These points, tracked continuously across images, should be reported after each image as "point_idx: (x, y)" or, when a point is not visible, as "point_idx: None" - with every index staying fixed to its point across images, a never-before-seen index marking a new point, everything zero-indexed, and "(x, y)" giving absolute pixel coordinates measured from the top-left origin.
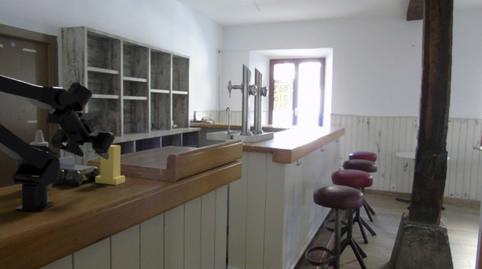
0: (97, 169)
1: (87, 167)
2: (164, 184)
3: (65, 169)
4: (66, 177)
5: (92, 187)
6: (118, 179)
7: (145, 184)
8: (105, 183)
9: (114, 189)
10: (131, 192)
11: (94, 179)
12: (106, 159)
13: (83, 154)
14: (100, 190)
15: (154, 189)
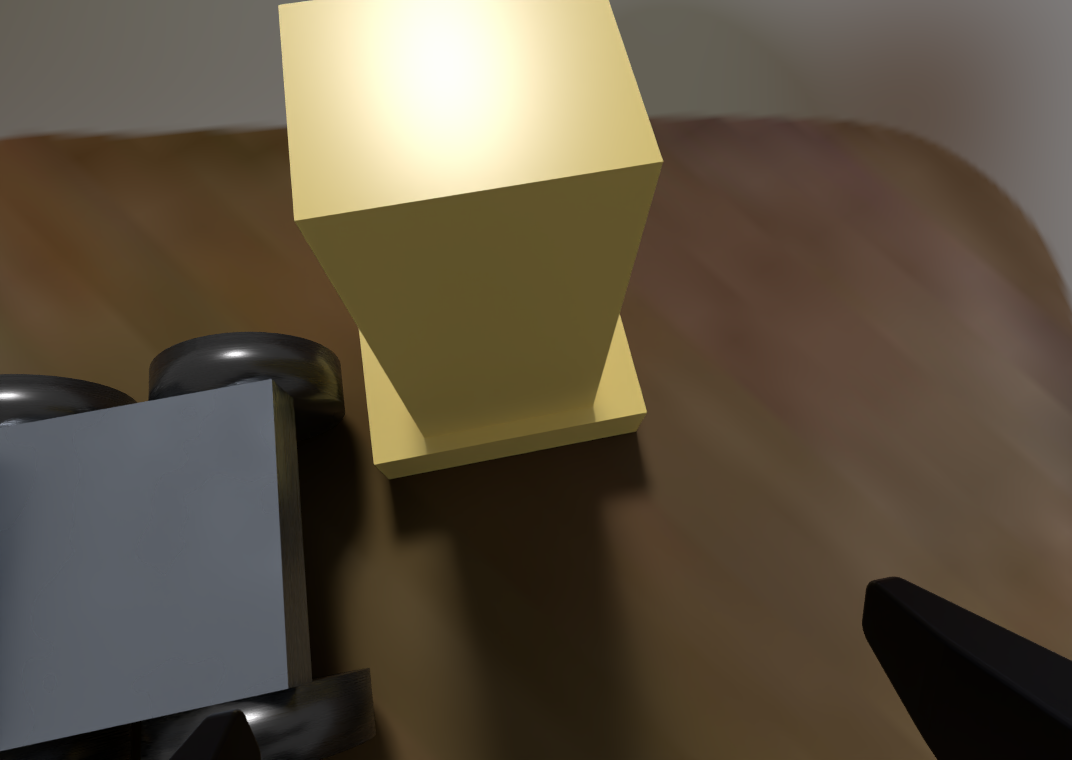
0: (306, 363)
1: (233, 481)
2: (956, 199)
3: (8, 747)
4: (120, 741)
5: (532, 661)
6: (634, 382)
7: (835, 281)
8: (510, 455)
9: (784, 593)
10: (1015, 590)
11: (325, 430)
12: (874, 641)
13: (238, 725)
14: (710, 715)
15: (1058, 379)
